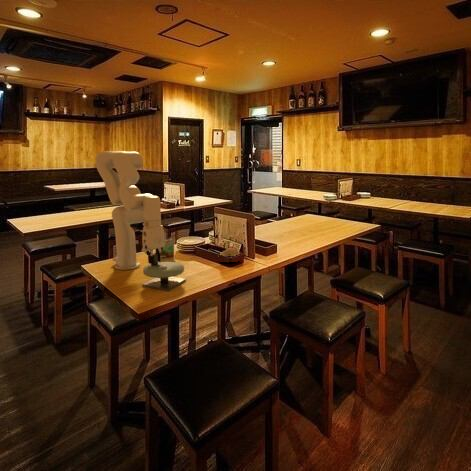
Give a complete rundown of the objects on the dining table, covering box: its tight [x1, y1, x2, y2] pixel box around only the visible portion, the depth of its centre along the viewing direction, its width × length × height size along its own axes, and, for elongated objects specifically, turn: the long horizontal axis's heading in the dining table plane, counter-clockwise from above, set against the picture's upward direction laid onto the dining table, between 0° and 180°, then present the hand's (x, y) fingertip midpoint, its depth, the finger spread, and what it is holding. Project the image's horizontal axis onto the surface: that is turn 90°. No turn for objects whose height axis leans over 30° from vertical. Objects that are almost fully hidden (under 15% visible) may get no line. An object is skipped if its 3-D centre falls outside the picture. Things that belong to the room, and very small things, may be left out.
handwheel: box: [142, 252, 185, 279], centre depth 164 cm, size 18×18×6 cm
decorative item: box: [219, 247, 241, 256], centre depth 199 cm, size 12×9×10 cm
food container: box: [160, 236, 176, 259], centre depth 207 cm, size 12×6×10 cm, turn 159°
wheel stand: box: [141, 276, 187, 292], centre depth 166 cm, size 14×14×6 cm
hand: (154, 262), depth 169 cm, fingers closed on handwheel, 3 cm apart
